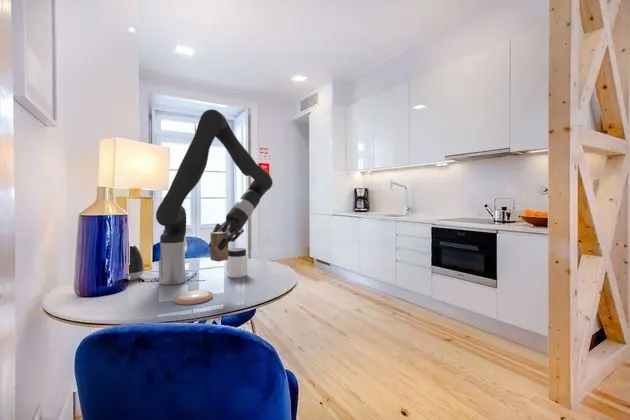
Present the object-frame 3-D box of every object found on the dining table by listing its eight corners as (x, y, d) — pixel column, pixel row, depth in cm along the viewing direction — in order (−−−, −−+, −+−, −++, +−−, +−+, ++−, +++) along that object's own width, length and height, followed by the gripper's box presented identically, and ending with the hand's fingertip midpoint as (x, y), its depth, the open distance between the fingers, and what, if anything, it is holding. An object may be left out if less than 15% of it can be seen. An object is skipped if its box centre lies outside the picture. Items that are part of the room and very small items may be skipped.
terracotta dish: (165, 303, 108) (165, 300, 108) (187, 292, 121) (187, 288, 121) (200, 305, 106) (200, 302, 106) (219, 293, 118) (219, 290, 118)
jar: (225, 274, 146) (224, 249, 146) (241, 272, 151) (241, 247, 151) (232, 279, 139) (231, 251, 139) (249, 276, 144) (249, 249, 143)
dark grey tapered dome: (112, 279, 139) (111, 245, 138) (137, 274, 147) (136, 242, 147) (124, 283, 133) (122, 247, 132) (148, 278, 142) (147, 244, 141)
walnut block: (210, 260, 116) (210, 232, 115) (220, 258, 120) (220, 231, 119) (218, 261, 113) (218, 233, 113) (228, 259, 117) (228, 232, 117)
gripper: (222, 206, 126) (196, 239, 116) (248, 207, 118) (221, 243, 108) (233, 218, 130) (208, 252, 121) (258, 220, 122) (234, 256, 113)
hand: (215, 247), depth 115 cm, fingers closed on walnut block, 4 cm apart
